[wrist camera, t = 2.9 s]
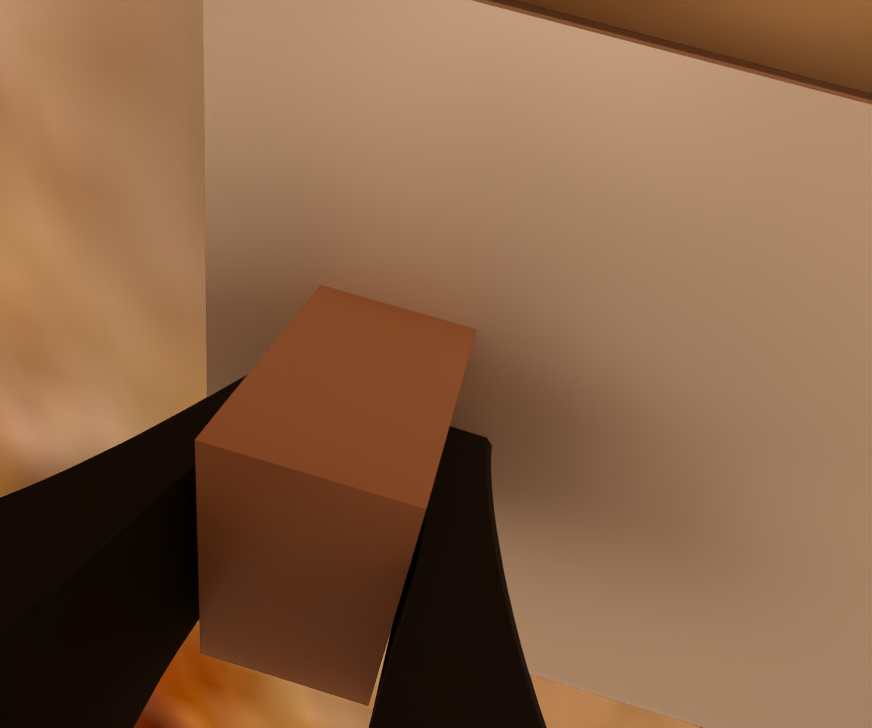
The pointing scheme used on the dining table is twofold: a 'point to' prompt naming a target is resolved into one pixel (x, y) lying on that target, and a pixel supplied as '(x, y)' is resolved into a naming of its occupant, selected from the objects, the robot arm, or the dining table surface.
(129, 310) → the dining table surface
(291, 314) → the lid
